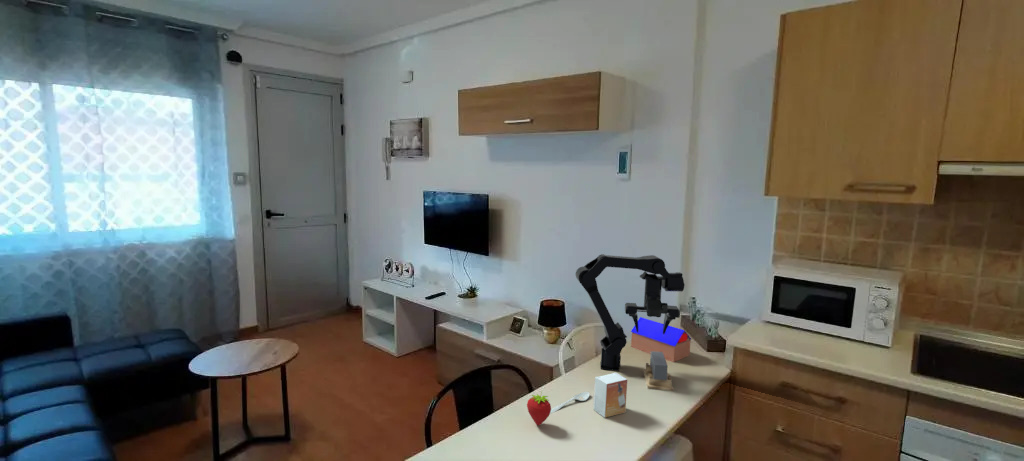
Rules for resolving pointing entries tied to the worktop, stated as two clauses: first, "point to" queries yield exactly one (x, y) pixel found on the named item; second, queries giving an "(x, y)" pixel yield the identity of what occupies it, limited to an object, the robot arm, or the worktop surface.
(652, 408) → the worktop surface
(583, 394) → the spoon
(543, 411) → the strawberry
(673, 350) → the house
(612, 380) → the small box
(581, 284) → the robot arm
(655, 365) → the grey rectangular block
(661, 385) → the display stand
